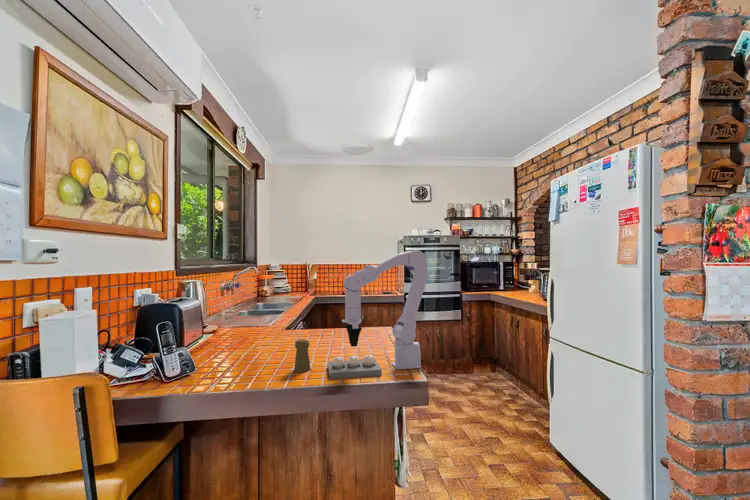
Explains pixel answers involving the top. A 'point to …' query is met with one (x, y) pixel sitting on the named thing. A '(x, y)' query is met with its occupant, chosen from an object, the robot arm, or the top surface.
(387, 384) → the top surface
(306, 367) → the cork
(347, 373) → the button panel
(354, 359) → the button
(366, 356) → the button
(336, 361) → the button
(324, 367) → the top surface
